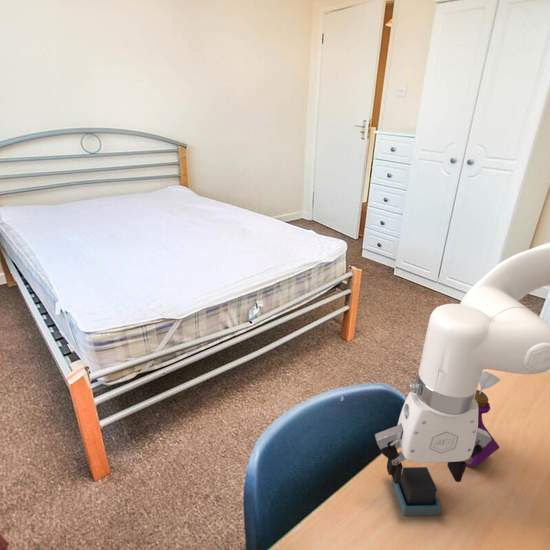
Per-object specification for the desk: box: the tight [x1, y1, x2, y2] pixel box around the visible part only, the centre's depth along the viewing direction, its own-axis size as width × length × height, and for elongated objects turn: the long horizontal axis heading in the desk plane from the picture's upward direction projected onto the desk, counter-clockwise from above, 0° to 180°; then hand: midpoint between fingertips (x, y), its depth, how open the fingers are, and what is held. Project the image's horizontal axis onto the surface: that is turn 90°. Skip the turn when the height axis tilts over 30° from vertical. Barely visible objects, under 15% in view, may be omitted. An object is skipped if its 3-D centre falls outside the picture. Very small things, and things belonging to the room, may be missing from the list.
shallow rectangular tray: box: [391, 477, 442, 517], centre depth 62 cm, size 6×6×2 cm
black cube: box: [399, 466, 438, 506], centre depth 61 cm, size 4×4×4 cm
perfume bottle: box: [466, 370, 501, 468], centre depth 67 cm, size 8×8×18 cm
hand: (423, 474), depth 60 cm, fingers open, 9 cm apart
